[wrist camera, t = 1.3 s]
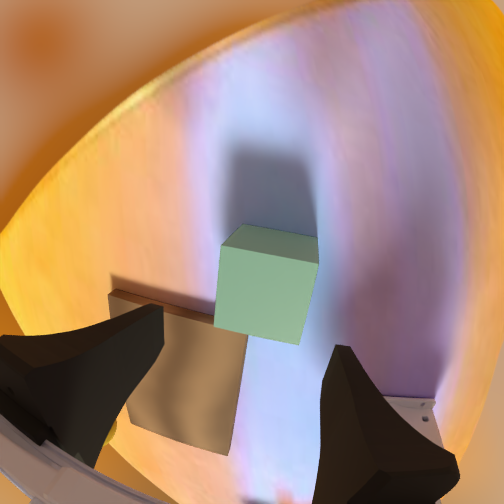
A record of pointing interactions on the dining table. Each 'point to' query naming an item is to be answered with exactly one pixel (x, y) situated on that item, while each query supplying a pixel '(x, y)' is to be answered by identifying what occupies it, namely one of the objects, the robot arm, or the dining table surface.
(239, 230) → the block
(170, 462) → the dining table surface
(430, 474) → the robot arm
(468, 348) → the dining table surface
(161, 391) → the board
